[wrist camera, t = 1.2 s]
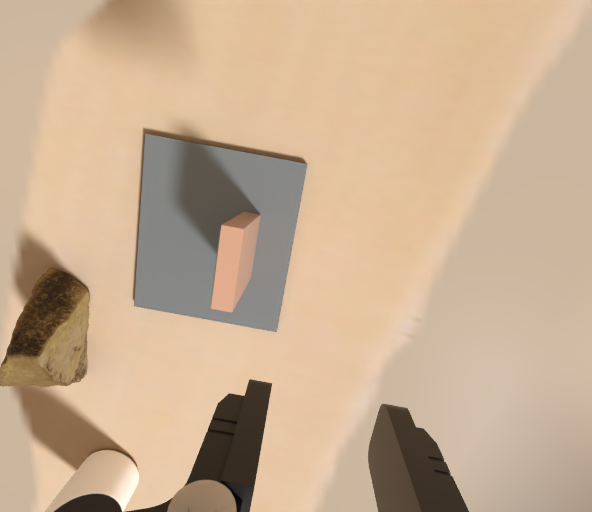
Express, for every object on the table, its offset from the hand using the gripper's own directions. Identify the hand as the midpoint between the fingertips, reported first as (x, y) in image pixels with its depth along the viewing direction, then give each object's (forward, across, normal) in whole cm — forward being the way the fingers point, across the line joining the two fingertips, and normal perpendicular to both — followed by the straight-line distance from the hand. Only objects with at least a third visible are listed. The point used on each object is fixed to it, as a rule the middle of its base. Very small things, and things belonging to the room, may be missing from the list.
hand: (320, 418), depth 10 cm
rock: (+21, +22, +12) cm, 33 cm away
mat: (+21, +9, 0) cm, 23 cm away
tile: (+21, +6, 0) cm, 21 cm away
